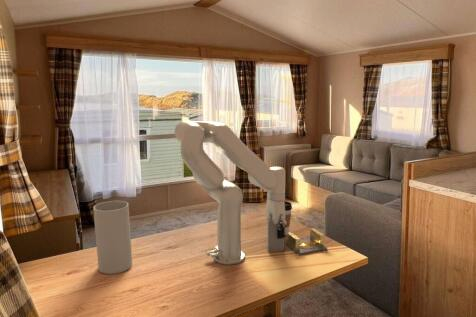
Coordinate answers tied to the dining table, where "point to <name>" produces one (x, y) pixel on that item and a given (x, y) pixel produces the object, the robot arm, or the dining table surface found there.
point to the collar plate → (306, 242)
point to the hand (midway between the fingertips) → (275, 233)
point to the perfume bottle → (273, 237)
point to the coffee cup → (287, 215)
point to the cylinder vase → (113, 236)
